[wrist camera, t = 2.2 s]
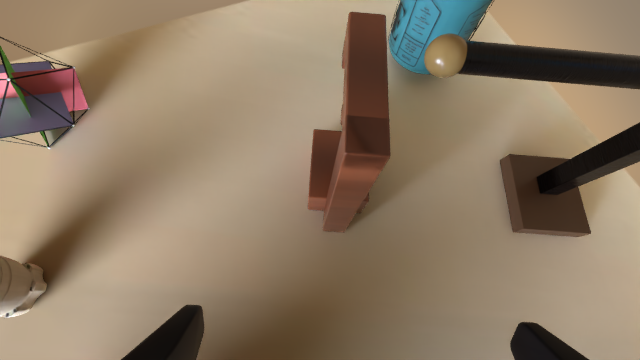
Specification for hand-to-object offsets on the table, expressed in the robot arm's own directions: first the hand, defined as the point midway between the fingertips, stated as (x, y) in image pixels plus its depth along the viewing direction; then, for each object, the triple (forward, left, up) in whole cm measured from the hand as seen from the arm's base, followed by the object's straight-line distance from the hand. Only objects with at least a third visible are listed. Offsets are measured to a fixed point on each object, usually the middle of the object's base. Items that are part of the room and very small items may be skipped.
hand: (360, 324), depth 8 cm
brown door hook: (+8, -2, -12) cm, 15 cm away
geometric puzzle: (+17, +19, -12) cm, 28 cm away
